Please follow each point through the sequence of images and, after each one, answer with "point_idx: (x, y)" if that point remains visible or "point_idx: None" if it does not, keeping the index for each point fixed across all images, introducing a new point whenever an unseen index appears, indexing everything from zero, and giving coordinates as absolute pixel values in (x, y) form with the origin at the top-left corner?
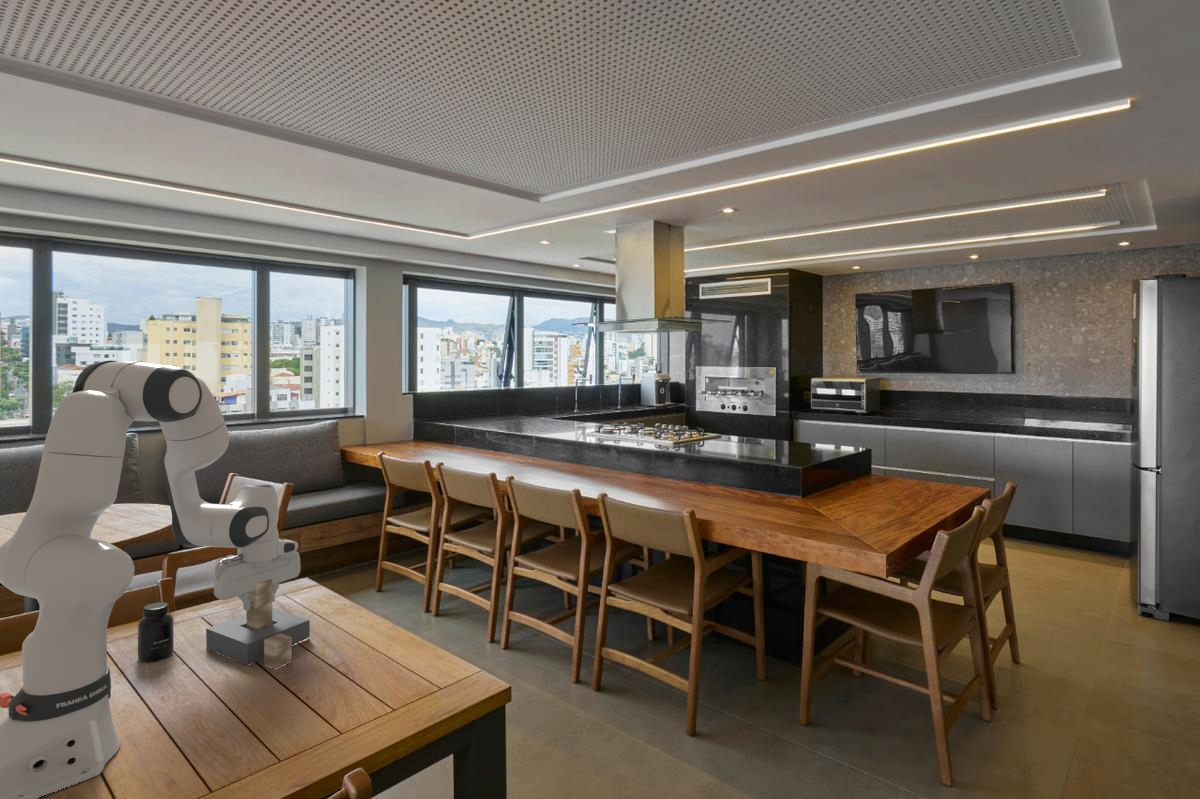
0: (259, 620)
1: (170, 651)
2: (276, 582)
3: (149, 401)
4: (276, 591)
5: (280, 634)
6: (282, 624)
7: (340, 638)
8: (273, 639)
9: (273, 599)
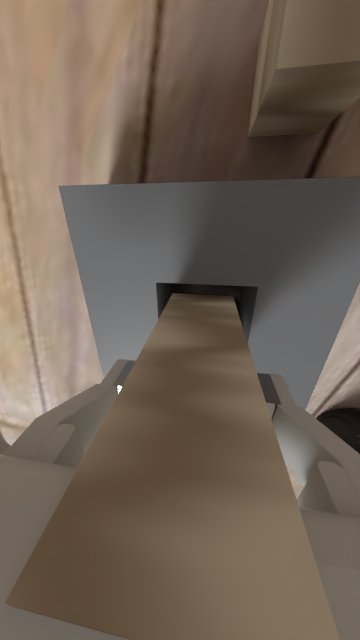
0: (225, 313)
1: (345, 417)
2: (12, 472)
3: None
4: (77, 395)
5: (290, 43)
6: (157, 249)
7: (26, 93)
8: None
9: (121, 365)
